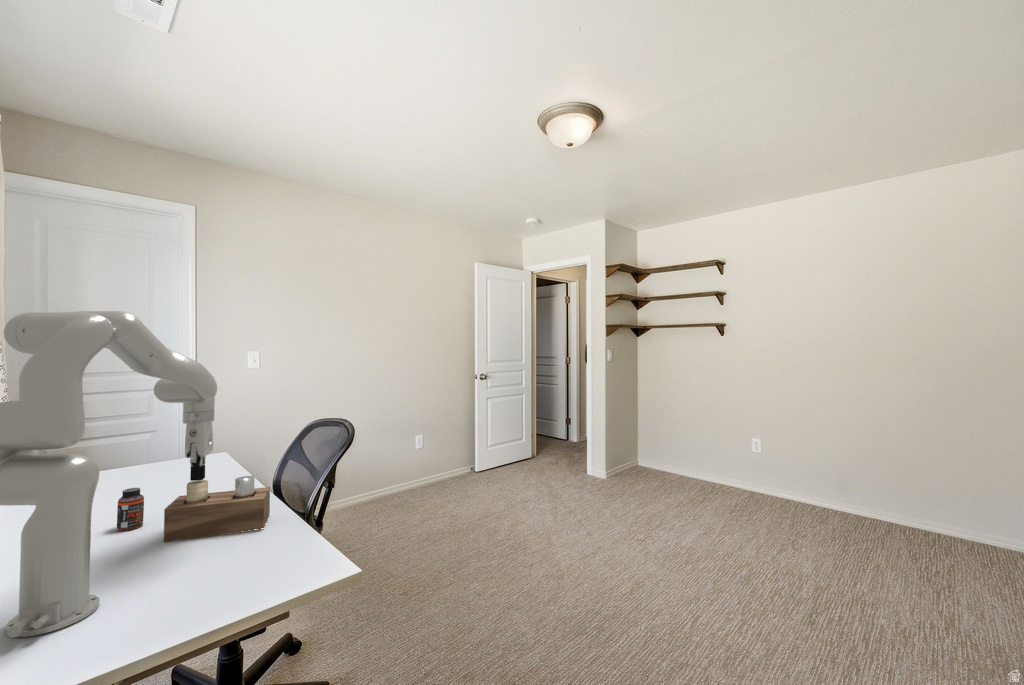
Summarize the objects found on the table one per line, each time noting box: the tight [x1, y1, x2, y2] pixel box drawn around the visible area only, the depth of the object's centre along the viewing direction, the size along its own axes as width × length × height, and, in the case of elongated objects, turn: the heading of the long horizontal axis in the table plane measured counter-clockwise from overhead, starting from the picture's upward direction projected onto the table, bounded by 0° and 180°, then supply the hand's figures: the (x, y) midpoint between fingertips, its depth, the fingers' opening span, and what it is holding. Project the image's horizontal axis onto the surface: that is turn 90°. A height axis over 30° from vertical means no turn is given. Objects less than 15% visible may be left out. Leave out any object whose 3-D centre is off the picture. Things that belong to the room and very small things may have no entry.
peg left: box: [186, 479, 209, 504], centre depth 127 cm, size 5×5×9 cm
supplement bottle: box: [116, 487, 145, 532], centre depth 129 cm, size 6×6×11 cm
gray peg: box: [234, 475, 255, 498], centre depth 132 cm, size 5×5×9 cm
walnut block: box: [163, 486, 271, 543], centre depth 129 cm, size 12×24×9 cm, turn 112°
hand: (197, 479), depth 128 cm, fingers closed
